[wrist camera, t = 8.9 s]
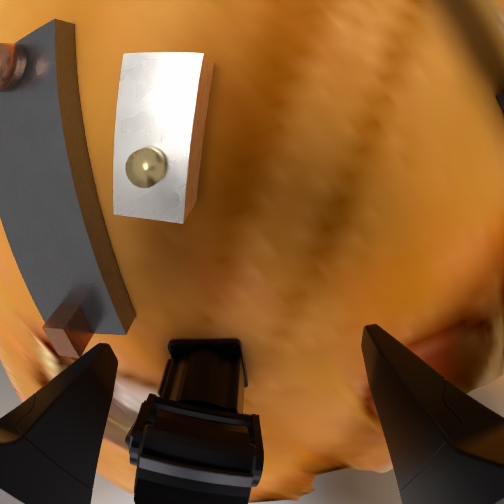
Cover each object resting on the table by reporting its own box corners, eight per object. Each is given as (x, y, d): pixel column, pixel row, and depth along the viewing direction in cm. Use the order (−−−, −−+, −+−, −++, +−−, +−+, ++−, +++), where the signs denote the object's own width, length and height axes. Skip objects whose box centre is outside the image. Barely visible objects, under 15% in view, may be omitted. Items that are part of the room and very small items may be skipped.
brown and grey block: (149, 62, 15) (117, 51, 11) (215, 64, 15) (200, 50, 11) (138, 193, 19) (107, 219, 15) (197, 200, 19) (179, 229, 15)
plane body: (-4, 70, 13) (-49, 75, 8) (74, 24, 13) (26, 12, 8) (60, 313, 24) (34, 351, 19) (135, 315, 24) (113, 361, 19)
